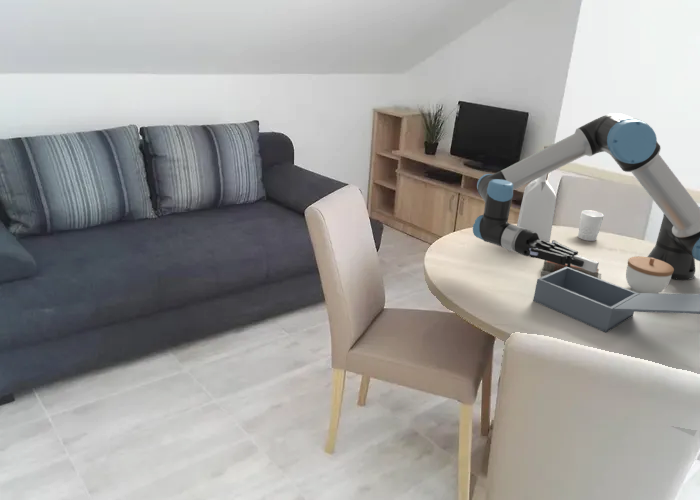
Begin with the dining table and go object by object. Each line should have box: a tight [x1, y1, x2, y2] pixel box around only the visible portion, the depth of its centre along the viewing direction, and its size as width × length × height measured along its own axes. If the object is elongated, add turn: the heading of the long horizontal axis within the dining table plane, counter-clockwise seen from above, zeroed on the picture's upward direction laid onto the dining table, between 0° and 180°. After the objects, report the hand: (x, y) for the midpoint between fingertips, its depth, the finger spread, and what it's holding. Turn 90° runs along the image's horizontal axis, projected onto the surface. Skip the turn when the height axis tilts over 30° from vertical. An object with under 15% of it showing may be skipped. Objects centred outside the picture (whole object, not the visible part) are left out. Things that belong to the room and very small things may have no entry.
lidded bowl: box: [625, 255, 674, 294], centre depth 175 cm, size 13×13×11 cm
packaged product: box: [540, 260, 602, 280], centre depth 184 cm, size 18×5×10 cm
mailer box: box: [532, 267, 639, 333], centre depth 162 cm, size 22×16×7 cm
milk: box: [516, 174, 557, 243], centre depth 210 cm, size 12×12×26 cm
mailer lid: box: [614, 292, 700, 315], centre depth 144 cm, size 22×16×1 cm
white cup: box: [577, 209, 604, 242], centre depth 218 cm, size 8×8×10 cm
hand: (596, 267), depth 153 cm, fingers closed
